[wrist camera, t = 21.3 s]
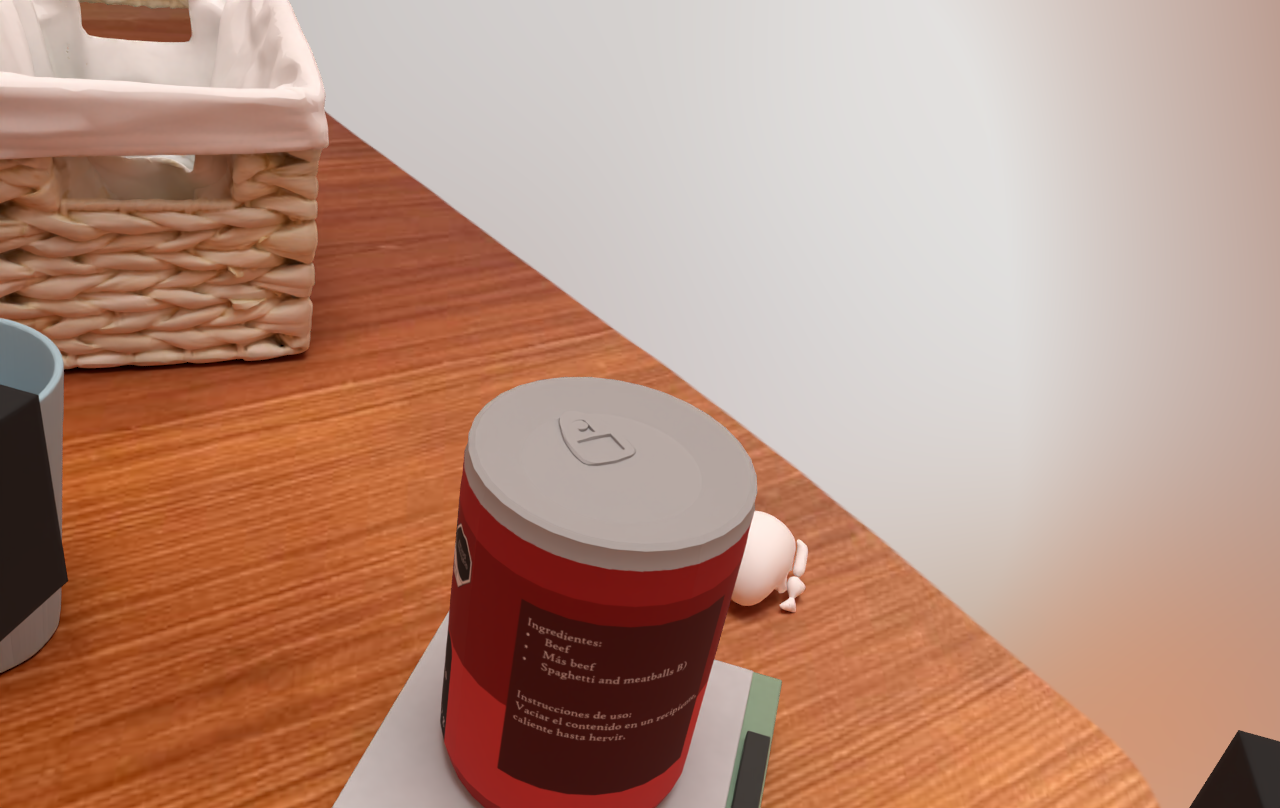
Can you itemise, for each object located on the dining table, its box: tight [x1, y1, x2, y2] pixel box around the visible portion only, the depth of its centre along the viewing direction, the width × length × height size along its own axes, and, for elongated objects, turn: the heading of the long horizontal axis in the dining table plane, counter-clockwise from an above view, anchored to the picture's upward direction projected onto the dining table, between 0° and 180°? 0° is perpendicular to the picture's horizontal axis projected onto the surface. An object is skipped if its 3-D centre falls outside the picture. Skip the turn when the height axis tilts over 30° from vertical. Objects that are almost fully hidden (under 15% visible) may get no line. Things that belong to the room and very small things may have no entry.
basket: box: [0, 0, 329, 369], centre depth 57 cm, size 24×16×15 cm
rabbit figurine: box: [731, 511, 808, 612], centre depth 45 cm, size 6×4×8 cm
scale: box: [332, 612, 782, 808], centre depth 35 cm, size 12×12×3 cm
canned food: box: [440, 377, 757, 808], centre depth 31 cm, size 8×8×11 cm
